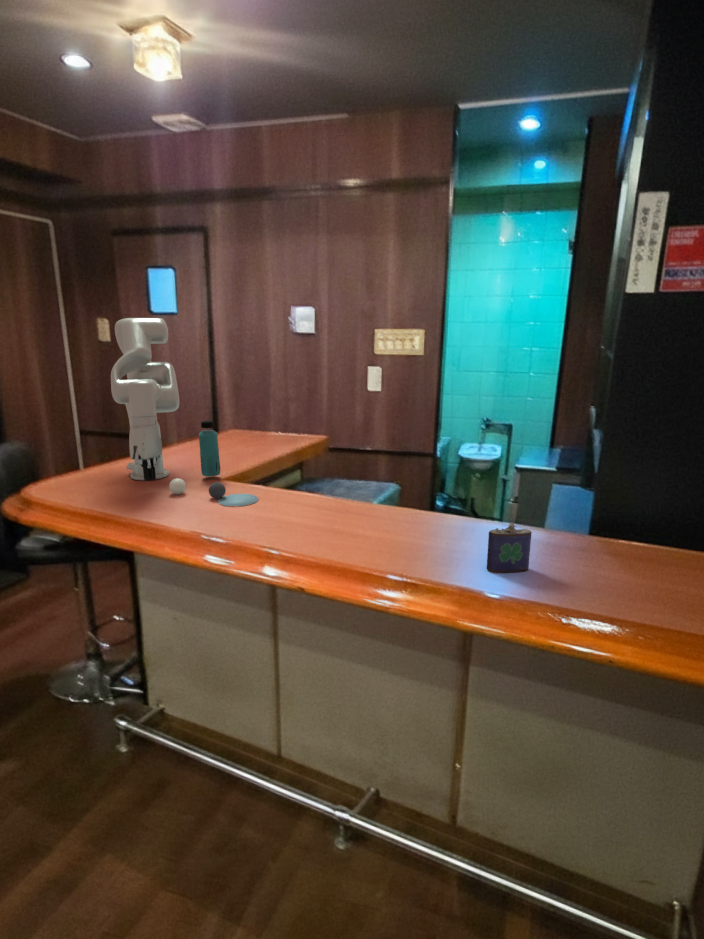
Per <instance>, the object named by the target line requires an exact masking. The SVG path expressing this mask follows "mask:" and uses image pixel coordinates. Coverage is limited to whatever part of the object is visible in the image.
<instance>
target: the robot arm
mask: <svg viewBox="0 0 704 939" xmlns="http://www.w3.org/2000/svg"><path fill="white" fill-rule="evenodd" d="M114 334H115V339H116V342H117V343H116V344H117V346H118V347H119V350H120V351H121V353H122V354H123V355H122V356H121V357H119V358H118V359H117V361H116V362H115V363H114V364H113V366H112V369H111V372H110V385H111V386H110V389H111V396H112V399H113V400H114V402H115V403H117V404H120V405H122V404H123V405H125V408H126V412H127V416H128V417H127V418H128V421H129V422H128V423H129V435H128V436H129V438H128V439H129V440H128V442H129V445H128V447H129V456H130V459H131V460H133V462H128V463H127V465H126V467H125V468H126V469H127V470H131V471H132V472H131V473H130V479H131V480H136V481H152V482H153V481H155V480H158V479H163V478H165V477H168V476H169V475H170V471H169V470H168V469H166V468H164V456H163V445H162V444H163V443H162V435H161V427H160V426H161V425H160V423H159V422H158V416H157V413H158V414H159V413H171V412H175V411H177V410H178V409H179V407H180V393H179V388H178V383H177V382H178V380H177V375H176V372H175V368H174V366H173V364H172V363H170V362H167V361H152V358H153V356H152V348H151V347H152V345H153V344H155V345H156V344H159V345H160V344H167V342H168V341H169V340H168V339H169V328H168V325H167V323H166V320H164V318H162V317H127V318H126V317H125V318H122V319H119V320H117V321H116V322H115V324H114ZM125 376H126V377H127V379H122V378H123V377H125Z"/></svg>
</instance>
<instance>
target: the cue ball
mask: <svg viewBox="0 0 704 939" xmlns="http://www.w3.org/2000/svg"><path fill="white" fill-rule="evenodd" d="M168 485H169V486H168V489H169V490H170V492H171V493H172V494H174V495H181V494H183V493H184V492H185V491H186V489H187V484H186V482H185V480H183V479H182V478H180V477H179V478H173V479H172V480H171V481H170V482H169V484H168Z"/></svg>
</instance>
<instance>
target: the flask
mask: <svg viewBox="0 0 704 939" xmlns="http://www.w3.org/2000/svg"><path fill="white" fill-rule="evenodd" d="M516 527H517V525H515V523H514V522H510V523H509V526H507V527H506V528H501V529H499V528H498V527H497V528H495V529H491V530H489V531H488V540H487V541H488V542H487V543H488V544H487V554H486V558H487V559H486V571H487V572H488V573H492V574H509V573H514V574H515V573H524V572H527V571H529V568H530V567H529V566H530V556H531V554H530V552H531V543H532V542H531V541H532V530H531V529H528V528H520V529H516Z"/></svg>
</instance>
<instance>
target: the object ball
mask: <svg viewBox="0 0 704 939" xmlns="http://www.w3.org/2000/svg"><path fill="white" fill-rule="evenodd" d="M226 490H227V489H226V486H225V485H224V484H223V483H222V482H219V481H215V482H212V483H211V484H210V485H209V487H208V494H209V495H210V497H212V498H213V499H217V500H218V499H220V498H221V497H224V496H225V494H226V492H227V491H226Z"/></svg>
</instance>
